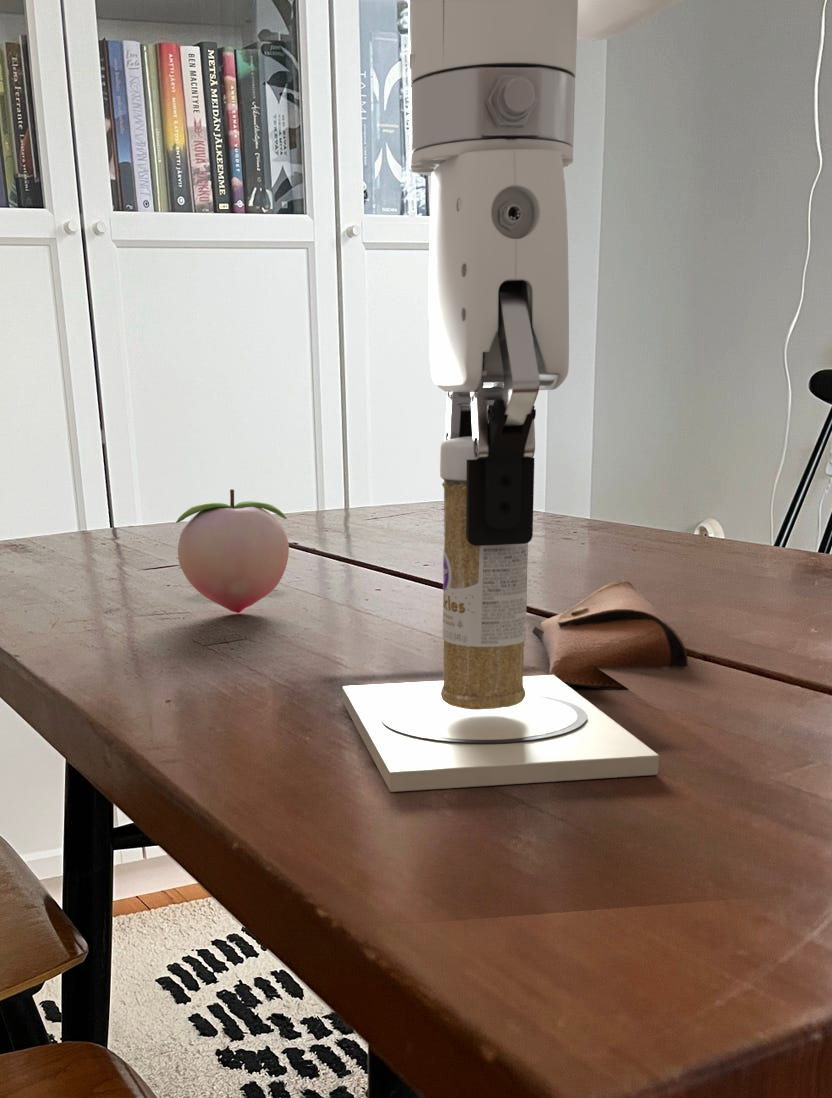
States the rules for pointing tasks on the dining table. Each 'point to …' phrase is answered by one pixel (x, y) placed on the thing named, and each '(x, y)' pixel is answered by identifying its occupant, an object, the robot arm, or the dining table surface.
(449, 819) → the dining table surface
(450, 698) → the sprinkles bottle
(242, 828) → the dining table surface
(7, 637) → the dining table surface
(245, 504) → the decorative fruit
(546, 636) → the sunglasses case
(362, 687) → the white flat block
